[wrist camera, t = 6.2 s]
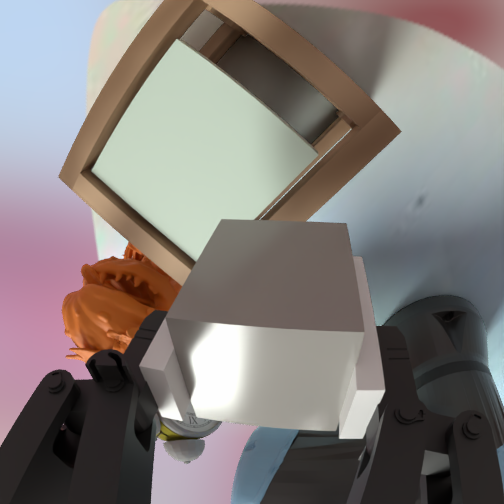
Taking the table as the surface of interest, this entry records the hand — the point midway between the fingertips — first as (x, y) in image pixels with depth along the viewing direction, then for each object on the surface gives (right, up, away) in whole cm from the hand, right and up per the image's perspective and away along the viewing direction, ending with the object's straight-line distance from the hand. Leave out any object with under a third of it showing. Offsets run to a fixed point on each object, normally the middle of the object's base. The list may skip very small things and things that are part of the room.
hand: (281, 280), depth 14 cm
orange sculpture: (-9, +2, +21) cm, 23 cm away
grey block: (0, 0, 0) cm, 0 cm away
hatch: (-5, +7, +5) cm, 9 cm away
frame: (-2, +13, +14) cm, 19 cm away
